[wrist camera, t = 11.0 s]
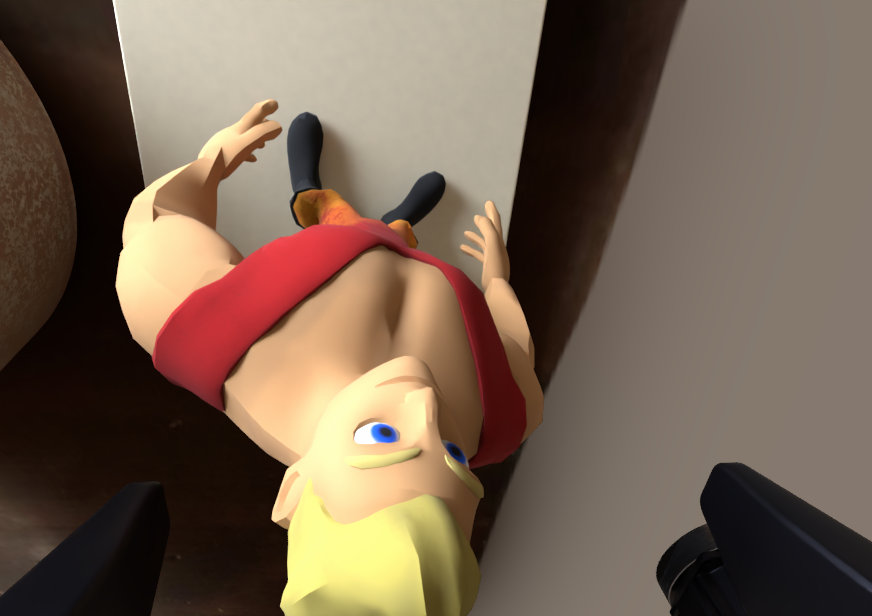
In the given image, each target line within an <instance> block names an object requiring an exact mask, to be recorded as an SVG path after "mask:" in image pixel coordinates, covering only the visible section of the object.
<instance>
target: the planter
mask: <svg viewBox="0 0 872 616" xmlns="http://www.w3.org/2000/svg"><path fill="white" fill-rule="evenodd" d="M76 241H77V215H76V204H75V197H74V190H73V185H72V181H71V177H70V172H69V169H68V165H67V162H66V159H65V155H64V152H63V150H62V147H61V144H60V141H59V139H58V136H57V134H56V132H55V129H54V127H53V125H52V122H51V120H50V118H49V116H48V114H47V112H46V110H45V108H44V106H43V104H42V102H41V100H40V99H39V97H38V95H37V93H36V92H35V90H34V88H33V87H32V85H31V83H30V81H29V80H28V78H27V77H26V75H25V74H24V72H23V71H22V69H21V68H20V66H19V65H18V63H17V62H16V60H15V59H14V57H13V56H12V55H11V53H10V52H9V51H8V49H7V48H6V46H5V45H4V44H3V42H2V41H1V40H0V371H1V370H2V369H3V368H4V367H5V366H6V364H7V363H8V362H9V361H10V360H11V359H12V358H13V357H14V356H15V355H16V354H17V353H18V352H19V351H20V350H21V349H22V348H23V347H24V346H25V345H26V343H27V342H28V341H29V340H30V339H31V338H32V337H33V336H34V335H35V334H36V333H37V332H38V331H39V330H40V329H41V327H42V326H43V325H44V324H45V323H46V321H47V320H48V319H49V317H50V316H51V315H52V313H53V312H54V310H55V308H56V307H57V305H58V303H59V302H60V300H61V298H62V296H63V293H64V291H65V289H66V286H67V284H68V281H69V278H70V275H71V271H72V267H73V263H74V257H75V251H76Z"/></svg>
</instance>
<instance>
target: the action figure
mask: <svg viewBox="0 0 872 616" xmlns="http://www.w3.org/2000/svg"><path fill="white" fill-rule="evenodd" d="M277 109H278V102H277V101H276V100H273V99H268V100H266V101H263V102H260V103H256V104H255V105H254V107H253V108H252V109H251V110H250V111H249V112H248V113H246V114H245V115H244V116H243V117H242V119H241V120H240V121H239V122H237V123H236V124H234V125H232V126H231V127H228V128H225V129H223V130H222V131H220V132H218V133H216V134H215V135H214V136H213V137H212V138H211V139H210V140H209V141H208V142H207V144H206V145H205V146H204V147H203V149H202V150H201V152H200V154H199V156H198V160H196V161H194V162H192V163H190V164H188V165H185V166H183V167H181V168H179V169H176V170H174V171H172V172H170V173H168V174H167V175H165V176H163V177H161V178H160V179H158V180H156V181H154V182H153V183H152V184H151V185H149V186H148V187H147V188H146V189H145V190H144V191H142V192H141V193H140V194H139V195H138V196H137V197H135V198H134V200H133V202H132V204H131V207H130V209H129V212H128V214H127V216H126V219H125V222H124V229H123V236H122V238H123V247H124V249H123V250H122V252H121V253H120V258H119V264H118V271H117V280H116V289H117V293H118V297H119V300H120V304H121V308H122V311H123V314H124V316H125V319H126V321H127V324H128V326H129V329H130V331H131V334H132V336H133V339H134V340H136V341H137V342H138V343H139V344H140V345H141V346H142V347H143V348H144V349H145V350H146V351H147V352H148V353H149V354H150V355H151V356H152V360H153V364H154V367H155V368H156V369H157V370H158V371H159V372H160V373H161V374H162V375H163V376H164V377H165V378H166V379H167V380H169V381H170V382H171V383H172V384H175V385H177V386H180V387H182V388H185V389H187V390H189V391H191V392H193V393H194V394H195V395H197V396H198V397H200V398H201V399H202V400H204V401H206V402H207V403H209V404H210V405H212V406H213V407H215V408H217V409H218V410H220V411H222V412H224V413H225V414H226V415H227V416H228V417H229V418H230V419H231V420H232V421H233V422H234V423H235V424H236V425H237V426H238V427H239V428H240V429H241V430H242V431H243V432H244V433H245V434H246V435H247V436H248V437H249V438H250V439H251V440H253V441H254V442H255V443H256V444H257V445H258V446H259V447H261V448H262V449H263V450H264V451H265V452H266V453H267V454H269V455H270V456H272V457H274V458H275V459H277V460H279V461H280V462H282V463H284V464H285V465H287V466H289V468H288V469H287V471H286V473H285V476H284V479H283V482H282V485H281V488H280V491H279V494H278V497H277V500H276V502H275V505H274V508H273V512H272V520H273V521H274V522H276V523H277V524H279V525H280V526H282V527H283V528H285V529H288V559H287V567H288V583H287V585H286V588H285V590H284V592H283V596H282V600H281V604H280V607H281V608H282V610H283V612H284V613H285V616H467V615H468V613H469V612H470V611H471V609H472V607H473V605H474V603H475V600H476V598H477V593H478V589H479V585H480V580H481V572H480V569H479V566H478V563H477V560H476V557H475V555H474V553H473V551H472V548H471V546H470V539H471V534H472V527H473V521H474V517H475V513H476V509H477V506H478V504H479V501H480V498H483V497H484V492H483V486H482V485H481V483H480V481H479V479H478V478H477V477H476V476H475V475H474V474H473V473H472V472H471V471H470V470H469V469H472V468H476V467H481V466H484V465H487V464H491V463H501V462H502V461H503V460H504V459H505V458H507V457H508V456H509V455H510V454H512V453H513V452H514V451H515V450H516V449H518V448H519V447H520V444H521V443H522V442H523V441H524V440H525V439H526V438H527V437H528V436H529V435H531V434H532V433H533V431H534V430H535V429H536V428H537V427H538V426H539V425H540V424H541V422H542V421H543V404H544V396H543V393H542V390H541V387H540V384H539V382H538V379H537V377H536V374H535V372H534V370H533V369H534V345H533V342H532V338H531V335H530V332H529V329H528V326H527V323H526V320H525V317H524V314H523V311H522V309H521V306H520V304H519V301H518V299H517V297H516V295H515V293H514V291H513V289H512V287H511V286H510V285H509V283H508V281H509V275H510V265H509V258H508V254H507V251H506V247H505V244H504V240H503V232H502V226H501V217H500V214H499V212H498V211H497V208H496V206H495V204H494V202H492V201H487V202H486V203H485V210H486V214H487V216H488V217H483V216H480V215H476V216H475V218H474V222H475V224H476V226H477V227H478V228H479V229H480V231H481V233H482V234H483V236H484V238H485V240H484V239H483V238H481V237H480V236H479V235H478V234H476V233H474V232H471V231H466V232H464V235H465V237H466V238H467V239H468V240H470V241H471V242H473V243H474V244H476V245H478V246H479V247H480V248H482V249H483V251H484V254H483V253H482V252H480V251H478V250H475V249H472V248H471V247H469V246H467V245H461V246H460V249H461V250H462V251H463V252H464V253H465V254H467V255H469V256H471V257H474V258H475V259H477V260H478V261H480V262H481V263H483V274H482V282H481V284H482V287H483V289H484V290H485V291H486V293H485V295H484V293H483V292H482V291H481V290H480V289H479V288H478V287H477V286H476V285H475V284H474V283H473V282H472V281H471V280H470V278H469V277H468V276H467V275H466V274H465V273H464V272H463V271H462V270H461V269H459V268H457V267H454V266H452V265H450V264H448V263H446V262H444V261H442V260H440V259H438V258H436V257H434V256H432V255H430V254H428V253H426V252H423V251H421V250H418V249H416V248H417V245H418V241H417V239H416V237H415V235H414V233H413V231H412V230H411V228H412V227H413V226H414V225H416V224H417V223H418V222H420V221H421V220H422V219H423V218H424V217H425V216H427V215H428V214H429V213H430V212H431V211H432V210H433V209H434V207H435V206H436V205H437V204H438V203H439V201H440V200H441V199H442V196H443V194H444V192H445V187H446V182H445V179H444V176H443V175H441V174H440V173H438V172H436V171H433V172H430V173H427V174H425V175H423V176H422V177H420V178H419V179H418V180H417V181H416V183H415V184H414V186H413V187H412V189H411V191H410V192H409V194H408V195H407V197H406V198H405V199H404V200H403V202H402V203H401V204H400V205H399V206H398V207H396V208H395V209H394V210H391V211H389V212H388V213H386V214H385V215H383V217H382V218H381V220H376V219H370V218H362V217H361V216H360V215H359V214H358V212H357V211H356V210H355V209H354V208H353V207H352V206H351V205H350V204H349V203H348V202H347V201H346V200H344V199H343V198H342V197H341V196H340V195H339V194H338V193H337V192H335V191H333V190H332V189H325V190H322V184H321V180H320V177H319V162H320V156H321V152H322V147H323V136H324V134H323V130H322V126H321V123H320V121H319V119H318V117H317V115H314V114H312V113H309V112H304V113H301V114H299V115H298V116H297V117H296V118H295V119H294V120H293V121H292V123H291V125H290V127H289V130H288V136H287V153H288V164H289V170H290V177H291V184H292V190H293V192H294V195H293V196H292V198H291V200H290V201H289V202H290V209H291V213H292V216H293V219H294V221H295V223H296V225H298V226H300V227H301V228H303V229H304V230H302V231H300V232H297V233H295V234H293V235H291V236H285V237H280V238H278V239H276V240H274V241H272V242H270V243H268V244H266V245H264V246H262V247H261V248H259V249H258V250H256V251H255V252H253V253H252V254H250V255H249V256H248V257H247V258H245V259H244V257H243V256H242V255H241V253H240V252H239V251H238V250H237V249H236V248H235V247H234V246H233V245H232V244H231V243H230V242H229V241H228V240H226V239H225V238H224V237H223V236H221V235H220V234H219V233H218V232H216V219H217V189H218V185H219V183H220V181H222V180H224V179H226V178H228V177H229V176H230V175H231V174H232V173H233V172H234V171H235V170H236V169H237V168H238V167H239V166H240V165H241V164H242V163H243V162H244V161H246V162H252V163H253V162H256V161H257V158H256V156H255V155H254V154H251V153H252V152H253V151H254V150H255V149H257V148H258V149H262V148H264V147H265V143H264V142H265V141H270V140H274V139H275V138H276V137H277V136H279V135H280V134H281V132H282V131H283V130H282V127H281V125H280V124H279V123H278V122H276V121H273V120H270V121H269V120H267V119H266V118H265V117H266V116H268V115H271V114H273V113H274V112H275V111H276V110H277Z"/></svg>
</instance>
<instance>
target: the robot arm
mask: <svg viewBox="0 0 872 616" xmlns="http://www.w3.org/2000/svg"><path fill="white" fill-rule="evenodd" d="M700 505H701V510H702V512H703V515H704V517H705V520H706V522H707V524H708V527H709V529H710V532H711V534H712V536H713V539H714V541H715V544H716V546H717V548H718V551H707V552H703V553H701V554H700V555H698V557H697V558H696V560H695V562H694V564H693V566H692V568H691V570H690V572H689V574H688V576H687V578H686V580H685V582H684V584H683V586H682V588H681V590H680V592H679V594H678V596H677V598H676V600H675V602H674V604H673V606H672V608H671V610H670V614H671V616H872V542H871V541H870V540H868V539H866V538H865V537H863V536H861V535H860V534H858V533H857V532H855V531H853V530H852V529H850V528H848V527H846V526H845V525H843V524H842V523H840V522H838V521H837V520H835V519H833V518H832V517H830V516H828V515H827V514H825V513H824V512H822V511H820V510H819V509H817V508H815V507H814V506H812V505H810V504H809V503H807V502H806V501H804V500H802V499H801V498H799V497H797V496H796V495H794V494H792V493H791V492H789V491H787V490H786V489H784V488H782V487H781V486H779V485H778V484H776V483H774V482H773V481H771V480H769V479H768V478H766V477H764V476H763V475H761V474H759V473H758V472H756V471H755V470H753V469H751V468H750V467H748V466H746V465H744V464H742V463H737V462H736V463H719V464H717V465H716V466H715V467H714V468H713V470H712V472H711V474H710V476H709V479H708V481H707V483H706V485H705V487H704V489H703V492H702V494H701V498H700ZM169 531H170V518H169V513H168V508H167V503H166V499H165V494H164V489H163V486H162V485H161V483H160V482H157V481H145V482H132V483H129V484H128V485H126V486H125V487H124V488H122V489H121V490H120V491H119V492H118V493H117V494H116V495H115V496H113V497H112V498H111V499H110V500H109V501H108V502H107V503H106V504H104V505H103V506H102V507H101V508H100V509H99V510H98V511H96V512H95V513H94V514H93V515H92V516H91V517H90V518H89V519H87V520H86V521H85V522H84V523H83V524H82V525H81V526H80V527H78V528H77V529H76V530H75V531H74V532H73V533H72V534H71V535H69V536H68V537H67V538H66V539H65V540H64V541H63V542H61V543H60V544H59V545H58V546H57V547H56V548H55V549H54V550H52V551H51V552H50V553H49V554H48V555H47V556H46V557H45V558H43V559H42V560H41V561H40V562H39V563H38V564H37V565H36V566H34V567H33V568H32V569H31V570H30V571H29V572H28V573H27V574H25V575H24V576H23V577H22V578H21V579H20V580H19V581H17V582H16V583H15V584H14V585H13V586H12V587H11V588H10V589H8V590H7V591H6V592H5V593H4V594H3V595H2V596H1V597H0V616H150V615H151V611H152V606H153V602H154V598H155V593H156V589H157V585H158V580H159V576H160V572H161V567H162V563H163V559H164V554H165V550H166V546H167V541H168V537H169Z"/></svg>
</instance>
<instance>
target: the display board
mask: <svg viewBox="0 0 872 616" xmlns="http://www.w3.org/2000/svg"><path fill="white" fill-rule="evenodd" d="M113 4H114V10H115V16H116V22H117V27H118V33H119V39H120V45H121V51H122V56H123V62H124V68H125V74H126V79H127V85H128V91H129V97H130V103H131V108H132V114H133V120H134V126H135V131H136V137H137V143H138V149H139V154H140V160H141V166H142V172H143V178H144V183H145V189H146V188H147V187H148V186H149V185H151V184H152V183H153V182H154V181H156V180H158V179H160V178H161V177H163V176H165V175H167V174H168V173H170V172H172V171H174V170H176V169H179V168H181V167H183V166H185V165H188V164H190V163H192V162H194V161H196V160H198V156H199V154H200V152H201V150H202V149H203V147H204V146H205V145H206V144H207V142H208V141H209V140H210V139H211V138H212V137H213V136H214V135H215V134H216V133H218V132H220V131H222V130H223V129H225V128H228V127H231V126H232V125H234V124H236V123H237V122H239V121H240V120H241V119H242V117H243V116H244V115H245V114H246V113H248V112H249V111H250V110H251V109H252V108H253V107H254V105H255V104H256V103H260V102H263V101H266V100H268V99H273V100H276V101H277V102H278V109H277V110H276V111H275V112H274V113H273V114H271V115H268V116H266V117H265V118H266V119H267V120H269V121H270V120H273V121H276V122H278V123H279V124H280V125H281V127H282V130H283V131H282V132H281V134H280V135H279V136H277V137H276V138H275V139H274V140H270V141H265V142H264V143H265V147H264V148H262V149H258V148H257V149H255V150H254V151H253V152H252V153H251V154H254V155H255V156H256V158H257V161H256V162H253V163H252V162H246V161H244V162H243V163H242V164H241V165H240V166H239V167H238V168H237V169H236V170H235V171H234V172H233V173H232V174H231V175H230V176H229V177H228V178H226V179H224V180H222V181H220V183H219V185H218V189H217V219H216V232H218V233H219V234H220V235H221V236H223V237H224V238H225V239H226V240H228V241H229V242H230V243H231V244H232V245H233V246H234V247H235V248H236V249H237V250H238V251H239V252H240V253H241V255H242V256H243V257H244V259H245V258H247V257H248V256H249V255H250V254H252V253H253V252H255V251H256V250H258V249H259V248H261V247H262V246H264V245H266V244H268V243H270V242H272V241H274V240H276V239H278V238H280V237H285V236H291V235H293V234H295V233H297V232H300V231H302V230H304V229H303V228H301V227H300V226H298V225H296V223H295V221H294V219H293V216H292V213H291V209H290V202H289V201H290V200H291V198H292V196H293V195H294V192H293V190H292V184H291V177H290V170H289V164H288V153H287V136H288V130H289V127H290V125H291V123H292V121H293V120H294V119H295V118H296V117H297V116H298V115H299V114H301V113H304V112H309V113H312V114H314V115H317V117H318V119H319V121H320V123H321V126H322V130H323V134H324V136H323V147H322V152H321V156H320V162H319V177H320V180H321V184H322V190H325V189H332V190H333V191H335V192H337V193H338V194H339V195H340V196H341V197H342V198H343V199H344V200H346V201H347V202H348V203H349V204H350V205H351V206H352V207H353V208H354V209H355V210H356V211H357V212H358V214H359V215H360V216H361V217H362V218H370V219H376V220H381V218H382V217H383V215H385V214H386V213H388V212H389V211H391V210H394V209H395V208H396V207H398V206H399V205H400V204H401V203H402V202H403V200H404V199H405V198H406V197H407V195H408V194H409V192H410V191H411V189H412V187H413V186H414V184H415V183H416V181H417V180H418V179H419V178H420V177H422V176H423V175H425V174H427V173H430V172H433V171H436V172H438V173H440V174H441V175H443V176H444V179H445V182H446V187H445V192H444V194H443V196H442V199H441V200H440V201H439V203H438V204H437V205H436V206H435V207H434V209H433V210H432V211H431V212H430V213H429V214H428V215H427V216H425V217H424V218H423V219H422V220H421V221H420V222H418V223H417V224H416V225H414V226H413V227H412V228H411V230H412V231H413V233H414V235H415V237H416V239H417V241H418V245H417V248H416V249H418V250H421V251H423V252H426V253H428V254H430V255H432V256H434V257H436V258H438V259H440V260H442V261H444V262H446V263H448V264H450V265H452V266H454V267H457V268H459V269H461V270H462V271H463V272H464V273H465V274H466V275H467V276H468V277H469V278H470V280H471V281H472V282H473V283H474V284H475V285H476V286H477V287H478V288H479V289H480V290H481V291H482V292H483V293H484V295H485V293H486V291H485V290H484V289H483V287H482V284H481V282H482V274H483V263H481V262H480V261H478V260H477V259H475V258H474V257H471V256H469V255H467V254H465V253H464V252H463V251H462V250H461V249H460V246H461V245H467V246H469V247H471V248H472V249H475V250H478V251H480V252H482V253H483V254H484V251H483V249H482V248H480V247H479V246H478V245H476V244H474V243H473V242H471V241H470V240H468V239H467V238H466V237H465V235H464V232H466V231H471V232H474V233H476V234H478V235H479V236H480V237H481V238H483V239H484V240H485V238H484V236H483V234H482V233H481V231H480V229H479V228H478V227H477V226H476V224H475V222H474V218H475V216H476V215H480V216H483V217H488V216H487V214H486V210H485V203H486V202H487V201H492V202H494V204H495V206H496V208H497V211H498V212H499V214H500V217H501V226H502V232H503V240H504V244H505V247H506V243H507V237H508V231H509V225H510V220H511V214H512V208H513V202H514V196H515V190H516V184H517V178H518V172H519V166H520V160H521V154H522V148H523V142H524V136H525V130H526V124H527V118H528V112H529V106H530V100H531V94H532V88H533V82H534V77H535V71H536V65H537V59H538V53H539V47H540V41H541V35H542V29H543V23H544V17H545V11H546V5H547V0H113Z"/></svg>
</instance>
